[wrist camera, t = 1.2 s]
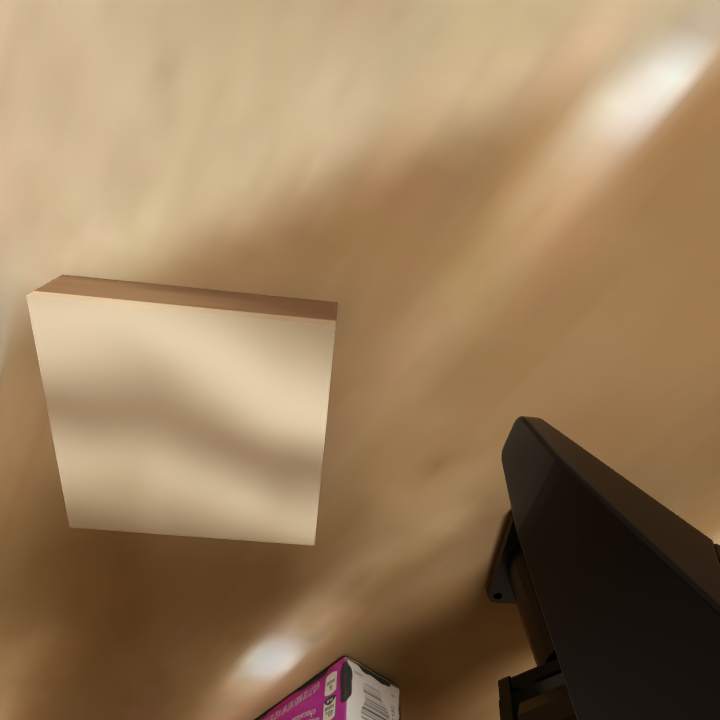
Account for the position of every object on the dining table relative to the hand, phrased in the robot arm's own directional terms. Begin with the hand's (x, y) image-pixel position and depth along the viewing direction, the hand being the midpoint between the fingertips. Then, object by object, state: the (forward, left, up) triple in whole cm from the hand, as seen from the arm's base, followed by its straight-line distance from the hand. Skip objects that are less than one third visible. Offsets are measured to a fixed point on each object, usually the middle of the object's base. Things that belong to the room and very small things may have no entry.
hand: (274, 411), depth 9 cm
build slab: (-8, +5, -12) cm, 15 cm away
